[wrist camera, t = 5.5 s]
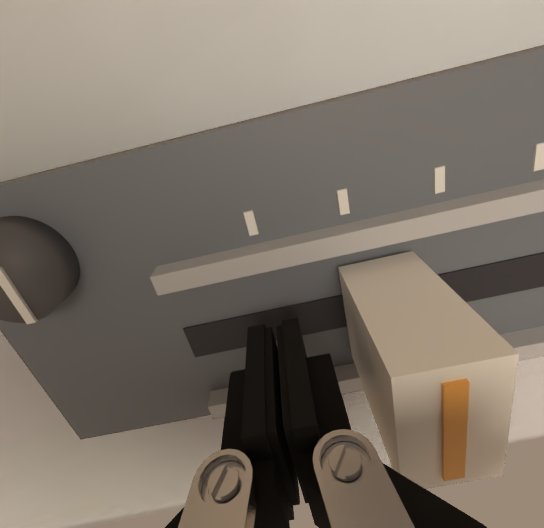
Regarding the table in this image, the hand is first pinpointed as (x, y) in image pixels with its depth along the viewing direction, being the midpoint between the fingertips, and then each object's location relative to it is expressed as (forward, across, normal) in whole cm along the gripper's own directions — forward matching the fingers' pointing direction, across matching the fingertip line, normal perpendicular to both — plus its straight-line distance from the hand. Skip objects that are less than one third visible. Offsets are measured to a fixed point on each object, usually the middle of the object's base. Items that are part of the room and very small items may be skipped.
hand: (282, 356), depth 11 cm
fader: (+1, -4, 0) cm, 4 cm away
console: (+4, -6, -2) cm, 7 cm away
